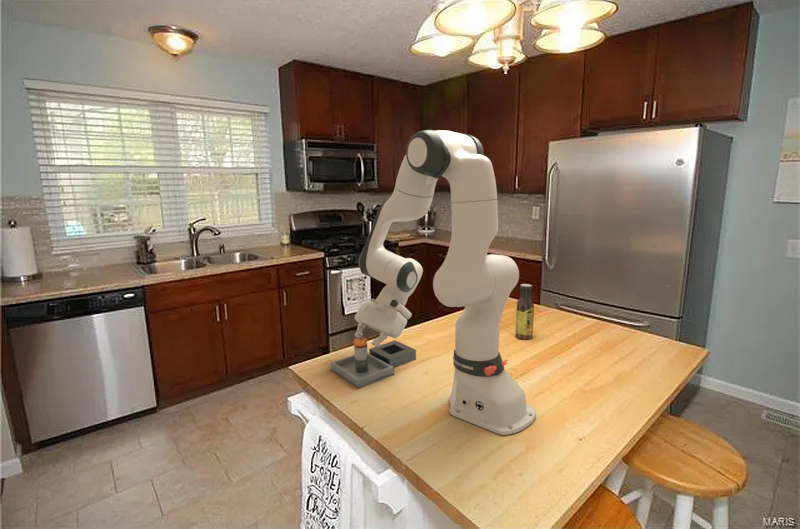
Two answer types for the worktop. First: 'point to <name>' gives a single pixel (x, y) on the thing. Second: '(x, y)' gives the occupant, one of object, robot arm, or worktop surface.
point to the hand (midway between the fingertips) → (365, 341)
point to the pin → (361, 355)
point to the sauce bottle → (524, 313)
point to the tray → (359, 380)
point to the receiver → (394, 353)
